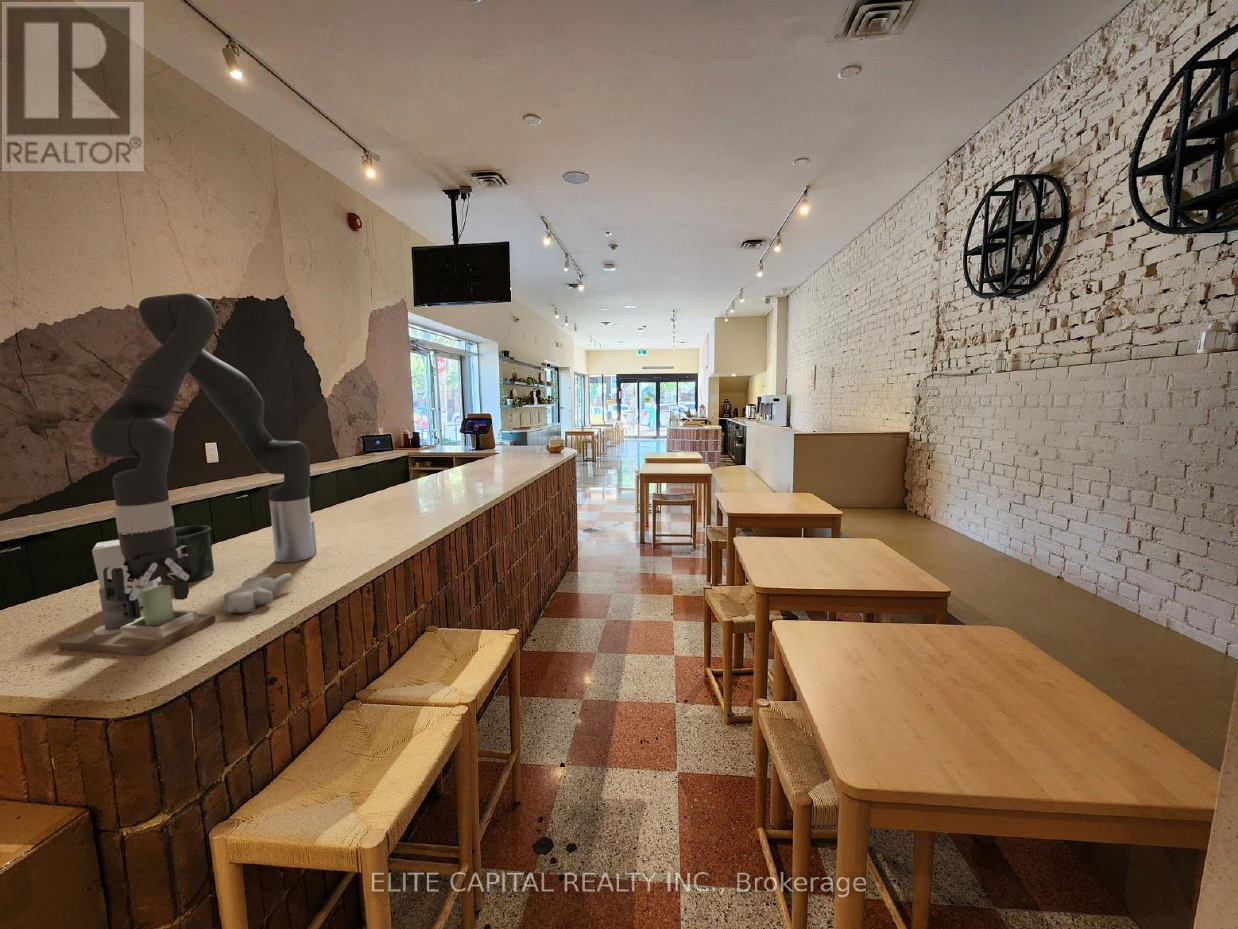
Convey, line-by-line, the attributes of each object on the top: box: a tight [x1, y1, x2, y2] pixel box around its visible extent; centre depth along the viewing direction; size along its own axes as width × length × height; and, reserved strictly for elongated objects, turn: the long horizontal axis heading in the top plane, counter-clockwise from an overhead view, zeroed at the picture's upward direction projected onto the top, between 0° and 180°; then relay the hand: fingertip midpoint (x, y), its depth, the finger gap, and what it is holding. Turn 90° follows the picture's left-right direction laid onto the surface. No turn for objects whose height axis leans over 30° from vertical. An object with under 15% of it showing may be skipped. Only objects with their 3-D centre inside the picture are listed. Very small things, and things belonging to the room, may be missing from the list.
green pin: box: [141, 584, 175, 627], centre depth 92 cm, size 4×4×8 cm
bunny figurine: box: [223, 572, 294, 614], centre depth 108 cm, size 10×5×15 cm
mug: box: [160, 525, 215, 585], centre depth 123 cm, size 11×15×12 cm
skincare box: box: [91, 539, 159, 608], centre depth 104 cm, size 8×6×15 cm
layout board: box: [57, 587, 216, 657], centre depth 92 cm, size 13×18×10 cm
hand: (158, 608), depth 92 cm, fingers open, 8 cm apart
